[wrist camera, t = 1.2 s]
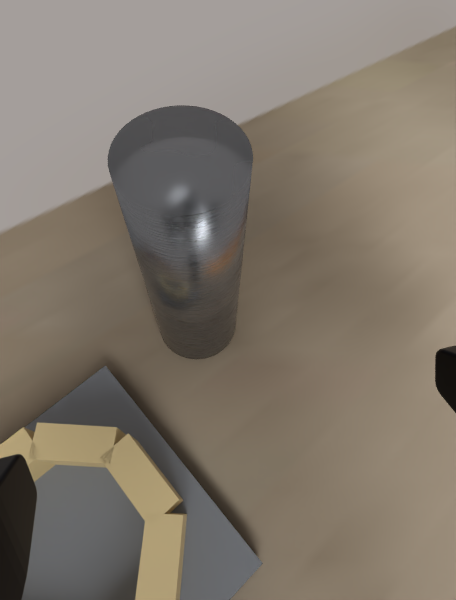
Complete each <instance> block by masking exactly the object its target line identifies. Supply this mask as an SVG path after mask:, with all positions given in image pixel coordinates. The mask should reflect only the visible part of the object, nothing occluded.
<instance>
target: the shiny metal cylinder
mask: <svg viewBox="0 0 456 600" xmlns="http://www.w3.org/2000/svg"><path fill="white" fill-rule="evenodd" d="M252 162H253V153H252V148H251V145H250V142H249V140H248V138H247V136H246V135H245V133H244V132H243V131H242V129H241V128H240V127H239V126H238V125H237V124H236V123H234V122H233V121H232V120H230V119H229V118H227V117H225V116H224V115H222V114H220V113H217V112H215V111H212V110H209V109H205V108H201V107H196V106H169V107H163V108H159V109H155V110H152V111H149V112H146V113H144V114H142V115H140V116H138V117H136V118H135V119H133V120H131V121H130V122H129V123H128V124H126V125H125V126H124V127H123V128H122V129H121V130H120V131H119V133H118V134H117V135H116V137H115V138H114V140H113V142H112V144H111V147H110V150H109V154H108V167H109V172H110V175H111V178H112V181H113V185H114V188H115V191H116V194H117V197H118V200H119V203H120V207H121V210H122V213H123V216H124V219H125V222H126V225H127V228H128V232H129V235H130V238H131V241H132V244H133V247H134V250H135V253H136V257H137V260H138V263H139V266H140V269H141V272H142V275H143V279H144V282H145V285H146V288H147V291H148V294H149V297H150V300H151V304H152V307H153V310H154V313H155V316H156V319H157V322H158V325H159V329H160V332H161V335H162V337H163V340H164V341H165V343H166V344H167V346H168V347H169V348H170V349H171V350H172V351H174V352H175V353H177V354H178V355H180V356H183V357H186V358H190V359H204V358H208V357H211V356H214V355H216V354H217V353H219V352H220V351H222V350H223V349H224V348H225V347H226V346H227V345H228V344H229V342H230V341H231V339H232V337H233V334H234V330H235V323H236V313H237V304H238V294H239V285H240V275H241V266H242V257H243V247H244V238H245V228H246V219H247V209H248V200H249V191H250V181H251V172H252Z"/></svg>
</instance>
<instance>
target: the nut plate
mask: <svg viewBox="0 0 456 600" xmlns="http://www.w3.org/2000/svg"><path fill="white" fill-rule="evenodd" d="M15 454H21V455H23V457H24V458H25V460H26V462H27V465H28V467H29V470H30V472H31V475H32V478H33V480H34V483H35V485H36V489H37V503H36V511H35V519H34V527H33V535H32V542H31V550H30V558H29V565H28V572H27V578H26V583H25V587H24V592H23V596H22V600H230V599H231V598H232V597H233V595H234V594H235V593H236V592H237V591H238V590H239V589H240V588H241V587H242V586H243V584H244V583H245V582H246V581H247V580H248V579H249V578H250V577H251V576H252V575H253V573H254V572H255V571H256V570H257V569H258V568H259V567H260V566H261V565H262V564H263V563H262V562H261V561H260V560H259V558H258V557H257V556H256V555H255V553H254V552H253V551H252V550H251V548H250V547H249V546H248V545H247V543H246V542H245V541H244V539H243V538H242V537H241V536H240V534H239V533H238V532H237V531H236V529H235V528H234V527H233V526H232V524H231V523H230V522H229V521H228V519H227V518H226V517H225V516H224V514H223V513H222V512H221V511H220V509H219V508H218V507H217V505H216V504H215V503H214V502H213V500H212V499H211V498H210V497H209V495H208V494H207V493H206V492H205V490H204V489H203V488H202V487H201V485H200V484H199V483H198V482H197V480H196V479H195V478H194V477H193V475H192V474H191V473H190V472H189V470H188V469H187V468H186V466H185V465H184V464H183V463H182V461H181V460H180V459H179V458H178V456H177V455H176V454H175V453H174V451H173V450H172V449H171V448H170V446H169V445H168V444H167V443H166V441H165V440H164V439H163V438H162V436H161V435H160V434H159V432H158V431H157V430H156V429H155V427H154V426H153V425H152V424H151V422H150V421H149V420H148V419H147V417H146V416H145V415H144V414H143V412H142V411H141V410H140V409H139V407H138V406H137V405H136V404H135V402H134V401H133V400H132V399H131V397H130V396H129V395H128V393H127V392H126V391H125V390H124V388H123V387H122V386H121V385H120V383H119V382H118V381H117V380H116V378H115V377H114V376H113V375H112V373H111V372H110V371H109V370H108V368H107V367H106V366H104V367H103V368H101V369H100V370H99V371H98V372H96V373H95V374H94V375H92V376H91V377H90V378H88V379H87V380H86V381H84V382H83V383H82V384H81V385H79V386H78V387H77V388H75V389H74V390H73V391H71V392H70V393H69V394H67V395H66V396H65V397H64V398H62V399H61V400H60V401H58V402H57V403H56V404H54V405H53V406H52V407H50V408H49V409H48V410H47V411H45V412H44V413H43V414H41V415H40V416H39V417H37V418H36V419H35V420H33V421H32V422H31V423H30V424H28V425H27V426H26V427H23V428H21V429H20V430H19V431H17V432H16V433H15V434H14V435H12V436H11V437H10V438H8V439H7V440H6V441H4V442H3V443H2V444H0V458H3V457H7V456H11V455H15Z"/></svg>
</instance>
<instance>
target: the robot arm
mask: <svg viewBox="0 0 456 600" xmlns="http://www.w3.org/2000/svg"><path fill="white" fill-rule="evenodd" d="M435 382H436V387H437V389H438V391H439V393H440V394H441V396H442V397H443V398H444V399H445V400H446V402H447V403H448V404H449V405H450V407H451V408H452V409H453V410H454V411H455V413H456V346H451V347H447V348H443V349H440V350H439V351H437V353H436V362H435ZM36 503H37V489H36V485H35V483H34V480H33V478H32V475H31V472H30V470H29V467H28V465H27V462H26V460H25V458H24V457H23V455H21V454H15V455H11V456H7V457H3V458H0V600H22V596H23V592H24V587H25V583H26V578H27V572H28V565H29V558H30V550H31V542H32V535H33V527H34V519H35V511H36Z"/></svg>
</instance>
